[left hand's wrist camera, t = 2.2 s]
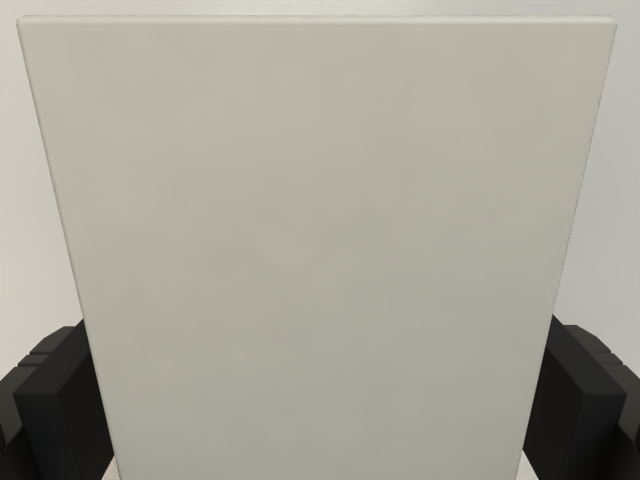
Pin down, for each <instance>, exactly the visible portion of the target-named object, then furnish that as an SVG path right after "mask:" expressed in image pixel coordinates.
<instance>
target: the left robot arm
mask: <svg viewBox="0 0 640 480" xmlns="http://www.w3.org/2000/svg"><path fill="white" fill-rule="evenodd" d="M522 449H523V451H524V453H525V455H526V456H527V458H528V460H529V462H530V464H531V466H532V468H533V470H534V472H535V473H536V475H537V477H538V479H539V480H640V379H639V378H638V377H637V376H636V375H635V374H634V373H633V372H632V371H631V370H630V369H629V368H628V367H627V366H626V365H623V362H622V361H621V360H620V359H619V358H618V357H617V356H616V355H615V354H614V353H611V350H610V349H609V348H608V347H607V346H606V345H604V344H603V343H602V342H601V341H600V340H599V339H598V338H597V337H596V336H594V335H593V334H591V333H589V332H587V331H586V330H584V329H582V328H581V327H579V326H577V325H563V324H562V323H561V322H560V321H559V320H558V319H557V318H556V317H555V316H554V315H553V314H552V318H551V323H550V327H549V332H548V336H547V341H546V345H545V350H544V354H543V359H542V363H541V368H540V372H539V377H538V381H537V385H536V390H535V394H534V399H533V403H532V408H531V412H530V417H529V421H528V426H527V430H526V435H525V439H524V444H523V448H522ZM113 456H114V450H113V446H112V441H111V437H110V433H109V428H108V424H107V420H106V415H105V411H104V406H103V402H102V398H101V393H100V389H99V385H98V380H97V376H96V371H95V367H94V363H93V358H92V354H91V350H90V345H89V341H88V336H87V332H86V328H85V323H84V319H82V320H81V321H80V322H79V323H78V324H77V326H64V327H62V328H61V329H59V330H57V331H55V332H54V333H52V334H50V335H49V336H47V337H45V338H44V339H43V340H42V341H41V342H40V343H38V344H37V345H36V346H35V347H34V348H33V349H32V350H31V351H30V354H29V355H26V356H25V357H24V358H23V359H22V360H21V361H20V362H19V363H18V366H17V367H14V368H13V369H12V370H11V371H10V372H9V373H8V374H7V375H6V376H5V377H4V378H3V379H2V380H1V381H0V480H101V479H102V477H103V475H104V473H105V472H106V470H107V468H108V466H109V464H110V462H111V460H112V458H113Z"/></svg>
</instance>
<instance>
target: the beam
mask: <svg viewBox="0 0 640 480" xmlns="http://www.w3.org/2000/svg"><path fill="white" fill-rule="evenodd" d="M16 26H17V30H18V35H19V39H20V44H21V48H22V52H23V57H24V61H25V65H26V70H27V74H28V79H29V83H30V87H31V92H32V96H33V100H34V105H35V109H36V114H37V118H38V122H39V127H40V131H41V135H42V140H43V144H44V148H45V153H46V157H47V162H48V166H49V170H50V175H51V179H52V183H53V188H54V192H55V197H56V201H57V205H58V210H59V214H60V218H61V223H62V227H63V232H64V236H65V240H66V245H67V249H68V253H69V258H70V262H71V267H72V271H73V275H74V280H75V284H76V288H77V293H78V297H79V301H80V306H81V310H82V315H83V319H84V323H85V328H86V332H87V336H88V341H89V345H90V350H91V354H92V358H93V363H94V367H95V371H96V376H97V380H98V385H99V389H100V393H101V398H102V402H103V406H104V411H105V415H106V420H107V424H108V428H109V433H110V437H111V441H112V446H113V450H114V455H115V459H116V463H117V468H118V472H119V476H120V480H515V479H516V475H517V470H518V466H519V461H520V457H521V453H522V448H523V444H524V439H525V435H526V430H527V426H528V421H529V417H530V412H531V408H532V403H533V399H534V394H535V390H536V385H537V381H538V377H539V372H540V368H541V363H542V359H543V354H544V350H545V345H546V341H547V336H548V332H549V327H550V323H551V318H552V314H553V310H554V305H555V301H556V296H557V292H558V287H559V283H560V278H561V274H562V269H563V265H564V260H565V256H566V251H567V247H568V242H569V238H570V234H571V229H572V225H573V220H574V216H575V211H576V207H577V202H578V198H579V193H580V189H581V184H582V180H583V175H584V171H585V167H586V162H587V158H588V153H589V149H590V144H591V140H592V135H593V131H594V126H595V122H596V117H597V113H598V108H599V104H600V99H601V95H602V91H603V86H604V82H605V77H606V73H607V68H608V64H609V59H610V55H611V50H612V46H613V41H614V37H615V32H616V28H617V20H616V19H615V18H613V17H611V16H609V15H94V16H93V15H92V16H23V17H21V18H19V19H17V24H16Z"/></svg>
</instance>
